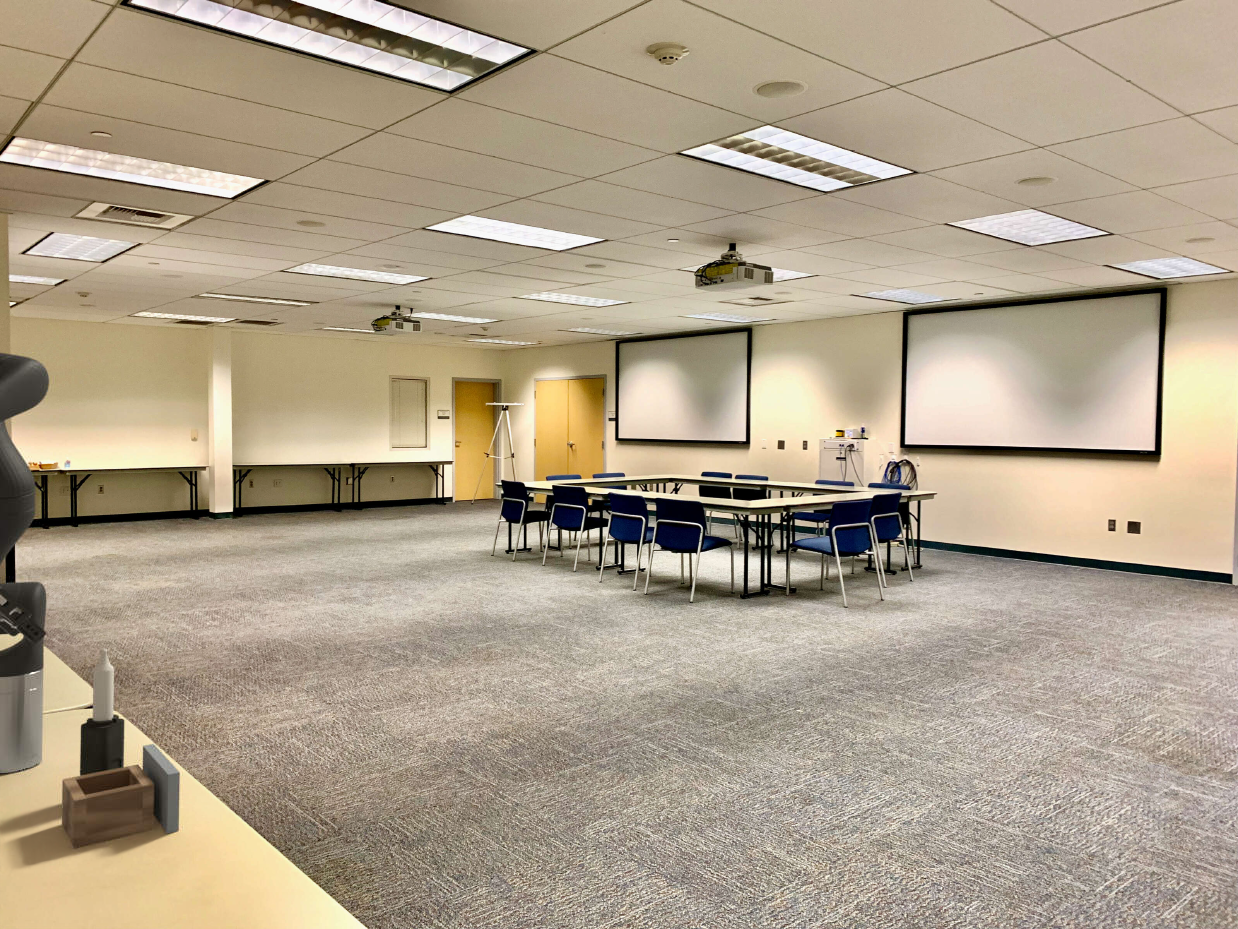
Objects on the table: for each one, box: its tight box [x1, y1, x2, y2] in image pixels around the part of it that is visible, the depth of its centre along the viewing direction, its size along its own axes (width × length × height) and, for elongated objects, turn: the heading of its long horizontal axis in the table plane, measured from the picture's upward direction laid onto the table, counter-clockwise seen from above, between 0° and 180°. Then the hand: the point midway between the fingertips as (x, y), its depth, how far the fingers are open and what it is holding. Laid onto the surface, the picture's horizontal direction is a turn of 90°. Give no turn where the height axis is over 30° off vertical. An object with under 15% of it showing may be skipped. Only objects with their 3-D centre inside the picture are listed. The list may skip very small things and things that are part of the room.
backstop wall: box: [142, 743, 181, 834], centre depth 137 cm, size 16×2×9 cm, turn 41°
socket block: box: [61, 764, 154, 849], centre depth 132 cm, size 10×10×7 cm
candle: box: [79, 648, 125, 776], centre depth 142 cm, size 5×5×25 cm
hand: (29, 635), depth 135 cm, fingers open, 8 cm apart
